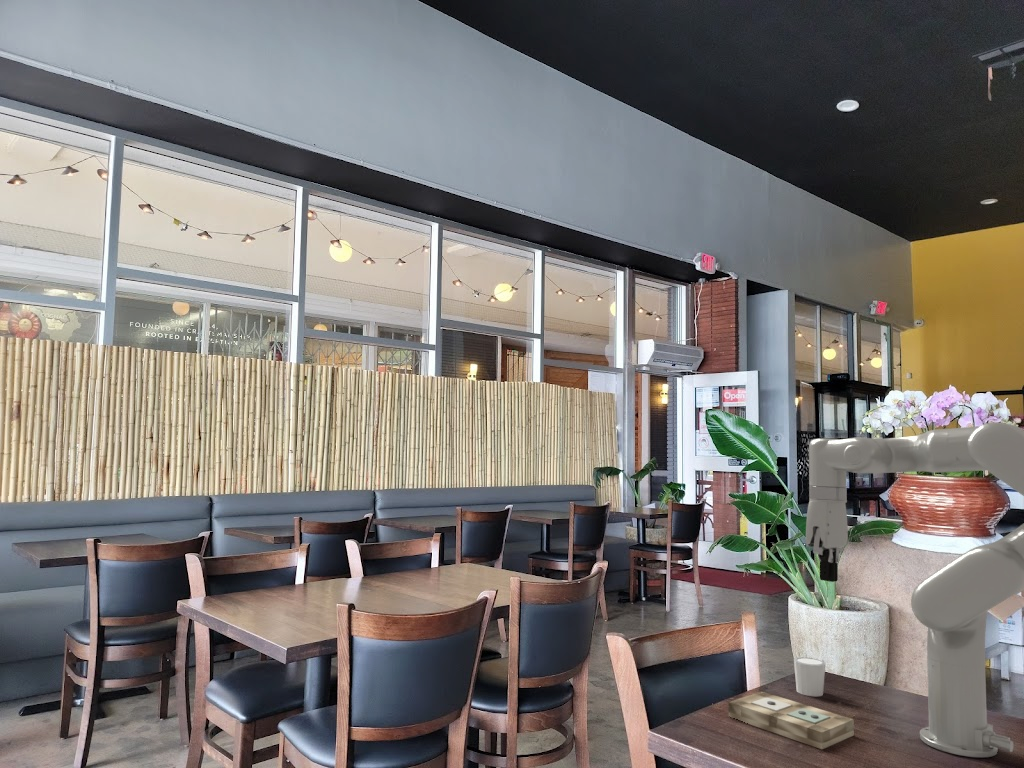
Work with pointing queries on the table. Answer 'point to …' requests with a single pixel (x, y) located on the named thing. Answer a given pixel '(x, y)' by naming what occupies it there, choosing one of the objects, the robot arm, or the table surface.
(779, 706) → the one dot tile
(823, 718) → the two dot tile
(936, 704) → the robot arm
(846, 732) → the tile board
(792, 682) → the table surface
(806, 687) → the white cup
